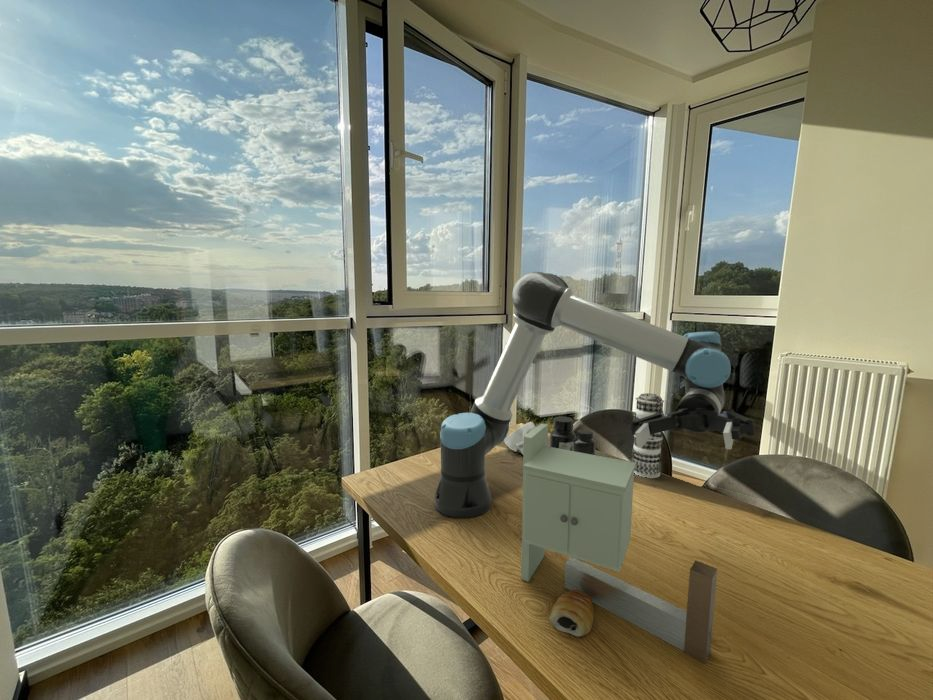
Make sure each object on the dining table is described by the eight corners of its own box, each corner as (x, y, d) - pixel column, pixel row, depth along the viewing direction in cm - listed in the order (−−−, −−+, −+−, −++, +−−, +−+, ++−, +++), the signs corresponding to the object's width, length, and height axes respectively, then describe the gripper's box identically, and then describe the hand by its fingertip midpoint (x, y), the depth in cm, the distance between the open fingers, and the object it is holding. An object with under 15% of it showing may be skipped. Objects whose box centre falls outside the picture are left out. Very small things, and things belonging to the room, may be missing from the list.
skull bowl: (536, 459, 137) (521, 424, 140) (509, 470, 146) (495, 437, 150) (554, 450, 144) (539, 418, 147) (527, 461, 154) (514, 430, 157)
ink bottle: (564, 458, 141) (565, 424, 139) (544, 451, 148) (544, 419, 146) (581, 452, 147) (582, 419, 145) (561, 445, 154) (562, 414, 152)
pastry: (563, 593, 77) (564, 574, 77) (600, 607, 74) (601, 587, 73) (547, 627, 69) (547, 607, 68) (587, 645, 66) (588, 623, 65)
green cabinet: (512, 592, 77) (514, 443, 73) (538, 553, 89) (541, 423, 85) (617, 632, 68) (625, 464, 64) (630, 583, 79) (637, 438, 76)
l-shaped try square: (563, 587, 78) (566, 518, 76) (571, 580, 80) (573, 512, 79) (705, 664, 62) (712, 578, 60) (710, 651, 64) (717, 568, 62)
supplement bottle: (595, 472, 130) (597, 435, 128) (573, 470, 131) (574, 434, 129) (593, 464, 136) (594, 429, 135) (572, 462, 138) (573, 427, 136)
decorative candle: (659, 468, 133) (664, 392, 129) (663, 480, 124) (668, 399, 121) (629, 464, 136) (633, 390, 132) (630, 476, 127) (635, 397, 124)
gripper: (774, 427, 79) (775, 465, 62) (639, 428, 94) (610, 459, 77) (768, 389, 79) (767, 417, 62) (634, 396, 94) (603, 420, 77)
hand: (680, 440), depth 69 cm, fingers open, 13 cm apart
